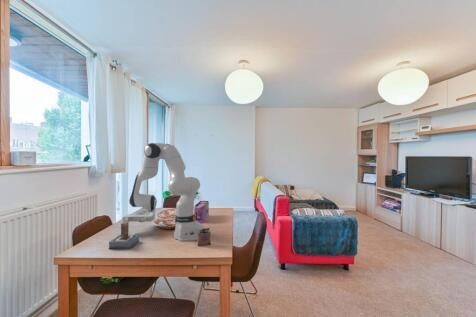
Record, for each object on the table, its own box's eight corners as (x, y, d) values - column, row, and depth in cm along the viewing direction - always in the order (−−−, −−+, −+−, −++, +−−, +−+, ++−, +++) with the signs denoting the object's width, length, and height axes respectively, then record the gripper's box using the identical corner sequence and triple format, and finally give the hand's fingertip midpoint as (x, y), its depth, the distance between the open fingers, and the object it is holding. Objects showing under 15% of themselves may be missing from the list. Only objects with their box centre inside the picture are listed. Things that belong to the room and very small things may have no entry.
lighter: (198, 246, 137) (198, 229, 136) (196, 244, 140) (197, 228, 140) (211, 244, 140) (211, 228, 140) (209, 243, 143) (209, 226, 143)
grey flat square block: (139, 241, 144) (139, 234, 144) (130, 249, 132) (130, 241, 132) (119, 241, 144) (119, 234, 144) (109, 248, 132) (109, 241, 132)
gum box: (203, 223, 184) (203, 206, 183) (193, 223, 184) (193, 206, 184) (208, 216, 207) (209, 200, 207) (200, 215, 208) (200, 200, 208)
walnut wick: (128, 241, 140) (128, 221, 140) (125, 244, 136) (125, 223, 136) (124, 241, 140) (124, 221, 140) (121, 244, 136) (121, 223, 136)
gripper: (127, 211, 164) (117, 216, 150) (156, 211, 164) (149, 216, 150) (127, 220, 164) (117, 225, 150) (156, 220, 164) (149, 225, 150)
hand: (133, 220), depth 150 cm, fingers open, 8 cm apart
